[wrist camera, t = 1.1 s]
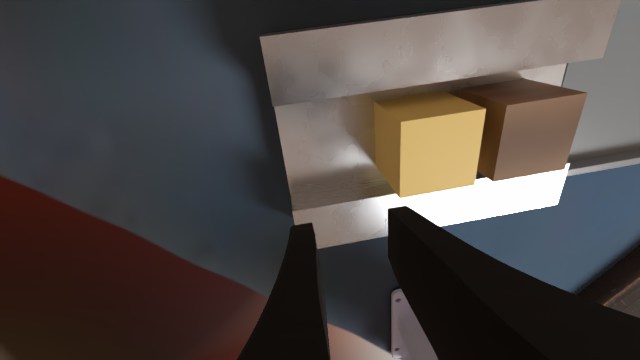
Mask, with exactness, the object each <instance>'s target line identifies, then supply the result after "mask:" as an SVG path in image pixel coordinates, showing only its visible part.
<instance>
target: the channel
mask: <svg viewBox="0 0 640 360" xmlns="http://www.w3.org/2000/svg"><path fill="white" fill-rule="evenodd" d="M620 1H621V0H519V1H511V2H503V3H496V4H488V5H480V6H473V7H465V8H457V9H449V10H442V11H434V12H426V13H419V14H411V15H403V16H396V17H388V18H380V19H372V20H365V21H357V22H349V23H342V24H334V25H326V26H319V27H311V28H303V29H295V30H288V31H280V32H272V33H265V34H261V36H260V42H261V47H262V52H263V58H264V63H265V69H266V74H267V79H268V85H269V90H270V95H271V101H272V106H273V107H274V109H275V114H276V119H277V125H278V130H279V136H280V141H281V147H282V152H283V157H284V163H285V168H286V174H287V179H288V184H289V190H290V196H291V205H292V213H293V218H294V223H295V225H299V224H305V223H311V222H312V224H313V228H314V233H315V238H316V244H317V249H320V248H325V247H331V246H336V245H341V244H347V243H352V242H358V241H363V240H369V239H374V238H379V237H385V236H388V209H389V208H395V207H400V206H408V207H410V208H411V209H413V210H414V211H416V212H418V213H419V214H421V215H422V216H424V217H425V218H427V219H428V220H430V221H431V222H433V223H435V224H436V225H438V226H444V225H450V224H455V223H460V222H466V221H471V220H477V219H482V218H487V217H493V216H498V215H504V214H509V213H515V212H520V211H525V210H531V209H536V208H542V207H547V206H552V205H557V204H558V201H559V197H560V194H561V191H562V188H563V184H564V181H565V178H566V175H567V172H568V168H569V165H570V163H568V162H567V163H566V166H565V169H564V170H558V171H553V172H547V173H541V174H536V175H530V176H524V177H519V178H513V179H507V180H502V181H496V182H492V181H491V180H489V179H488V178H487V177H485V176H484V175H483V174H481V173H480V172H478V171H477V173H476V180H475V185H473V186H468V187H462V188H456V189H451V190H445V191H439V192H433V193H428V194H422V195H416V196H411V197H405V198H399V197H398V195H397V194H396V193H395V191H394V190H393V189H392V187H391V186H390V184H389V183H388V182H387V180H386V179H385V178H384V176H383V175H382V173H381V172H380V171H379V169H378V168H377V167H376V161H375V123H374V101H378V100H385V99H392V98H398V97H405V96H412V95H418V94H425V93H432V92H438V91H444V92H446V93H449V94H451V95H454V96H456V97H458V94H459V88H465V87H471V86H478V85H485V84H491V83H498V82H505V81H511V80H518V79H529V80H533V81H538V82H542V83H547V84H551V85H556V86H560V87H561V84H562V80H563V76H564V72H565V68H566V65H567V63H572V62H579V61H586V60H593V59H599V58H603V56H604V53H605V49H606V46H607V43H608V40H609V37H610V33H611V30H612V27H613V24H614V21H615V17H616V14H617V11H618V8H619V4H620Z"/></svg>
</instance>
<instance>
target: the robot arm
mask: <svg viewBox="0 0 640 360" xmlns="http://www.w3.org/2000/svg"><path fill="white" fill-rule="evenodd" d="M388 258H389V261H390V263H391V266H392V269H393V271H394V274H395V276H396V279H397V281H398V284H399V286H400V288H401V289H397V290H394V291H393V292H392V294H391V354H392V357H393V358H401V357H403V359H404V360H640V318H639V317H636V316H633V315H630V314H627V313H623V312H621V311H618V310H615V309H612V308H609V307H607V306H604V305H601V304H598V303H595V302H593V301H590V300H588V299H585V298H583V297H580V296H577V295H575V294H572V293H570V292H567V291H565V290H562V289H560V288H557V287H555V286H552V285H550V284H548V283H545V282H543V281H541V280H538V279H536V278H534V277H532V276H530V275H528V274H525V273H523V272H521V271H519V270H517V269H515V268H513V267H510V266H508V265H506V264H504V263H502V262H500V261H498V260H496V259H495V258H493V257H491V256H489V255H487V254H485V253H484V252H482V251H480V250H478V249H476V248H474V247H473V246H471V245H469V244H467V243H466V242H464V241H462V240H461V239H459V238H457V237H455V236H454V235H452V234H451V233H449V232H447V231H446V230H444V229H442V228H441V227H439V226H438V225H436V224H435V223H433V222H431V221H430V220H428V219H427V218H425V217H424V216H422V215H421V214H419V213H418V212H416V211H414V210H413V209H411V208H410V207H408V206H400V207H395V208H389V209H388ZM237 360H330V350H329V339H328V328H327V318H326V307H325V297H324V291H323V284H322V277H321V271H320V264H319V257H318V251H317V244H316V238H315V233H314V228H313V224H312V222H311V223H305V224H299V225H294V226H292V227H291V229H290V235H289V240H288V245H287V249H286V252H285V256H284V259H283V262H282V265H281V268H280V271H279V274H278V277H277V279H276V282H275V284H274V287H273V289H272V292H271V294H270V296H269V299H268V301H267V304H266V306H265V308H264V310H263V312H262V314H261V316H260V318H259V321H258V322H257V324H256V326H255V329H254V330H253V332H252V334H251V336H250V338H249V339H248V341H247V343H246V345H245V347H244V348H243V350H242V352H241V354H240V355H239V357H238V359H237Z"/></svg>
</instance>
